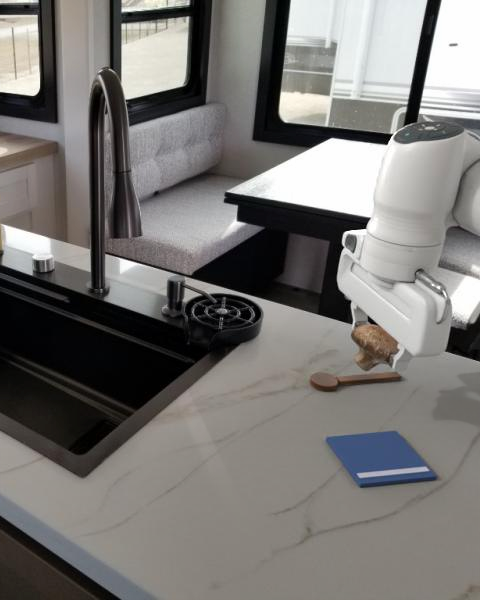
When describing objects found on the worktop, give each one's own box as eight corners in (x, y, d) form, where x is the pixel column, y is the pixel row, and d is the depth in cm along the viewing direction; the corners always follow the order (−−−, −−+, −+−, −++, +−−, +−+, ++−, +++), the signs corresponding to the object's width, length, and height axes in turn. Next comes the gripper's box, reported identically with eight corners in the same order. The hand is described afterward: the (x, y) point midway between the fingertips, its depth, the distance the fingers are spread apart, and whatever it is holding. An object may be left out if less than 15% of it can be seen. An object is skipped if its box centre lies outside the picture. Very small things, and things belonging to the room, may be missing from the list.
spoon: (390, 371, 100) (392, 365, 100) (405, 385, 97) (406, 380, 97) (305, 378, 99) (306, 372, 99) (316, 393, 95) (317, 387, 95)
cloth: (395, 433, 87) (396, 429, 86) (436, 479, 79) (437, 475, 79) (325, 440, 86) (326, 436, 85) (359, 487, 78) (360, 483, 77)
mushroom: (340, 357, 84) (366, 316, 83) (333, 353, 91) (357, 315, 91) (398, 390, 82) (425, 348, 81) (386, 383, 90) (411, 345, 89)
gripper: (479, 289, 71) (447, 392, 77) (379, 226, 89) (360, 313, 95) (426, 293, 70) (398, 396, 77) (337, 228, 89) (320, 316, 95)
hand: (377, 349), depth 86 cm, fingers closed on mushroom, 8 cm apart
